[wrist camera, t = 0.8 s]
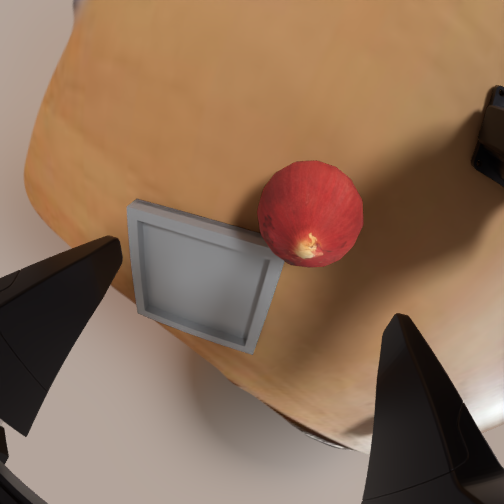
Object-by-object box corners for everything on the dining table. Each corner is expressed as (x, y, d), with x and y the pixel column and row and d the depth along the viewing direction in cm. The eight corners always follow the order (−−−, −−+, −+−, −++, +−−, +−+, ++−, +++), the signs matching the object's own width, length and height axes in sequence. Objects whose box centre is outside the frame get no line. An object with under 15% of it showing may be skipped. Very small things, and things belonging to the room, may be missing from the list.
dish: (289, 242, 21) (286, 253, 20) (256, 343, 29) (252, 354, 28) (136, 198, 22) (126, 206, 21) (144, 304, 30) (137, 313, 29)
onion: (319, 242, 21) (311, 323, 14) (255, 195, 20) (215, 261, 13) (374, 185, 17) (398, 252, 11) (304, 129, 16) (289, 163, 10)
